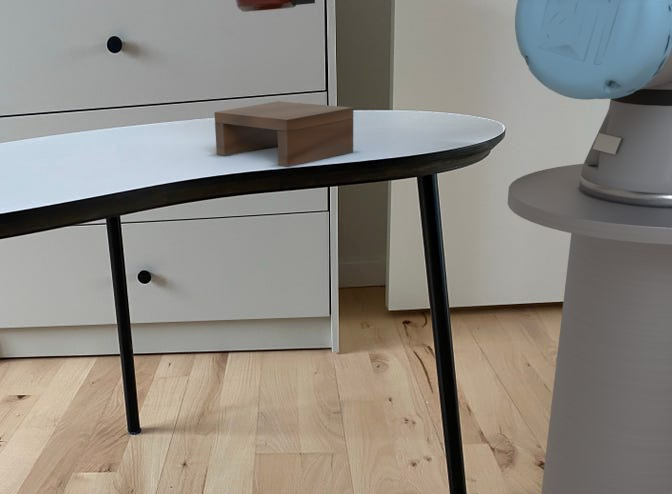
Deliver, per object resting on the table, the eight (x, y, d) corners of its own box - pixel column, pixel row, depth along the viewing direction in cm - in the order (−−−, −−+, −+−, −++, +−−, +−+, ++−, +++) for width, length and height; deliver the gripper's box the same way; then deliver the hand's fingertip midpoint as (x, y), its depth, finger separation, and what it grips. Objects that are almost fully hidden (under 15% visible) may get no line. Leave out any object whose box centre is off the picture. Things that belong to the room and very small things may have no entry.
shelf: (353, 152, 96) (353, 107, 94) (287, 166, 91) (286, 119, 89) (279, 142, 106) (278, 101, 104) (216, 154, 101) (214, 112, 99)
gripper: (183, -219, 89) (198, 11, 99) (313, -275, 74) (316, 4, 83) (238, -215, 93) (247, 6, 102) (372, -267, 78) (369, -1, 87)
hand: (278, 5), depth 93 cm, fingers closed on mug, 8 cm apart
